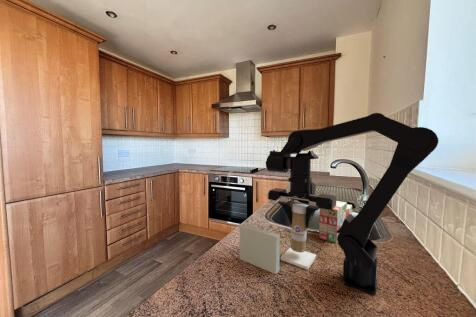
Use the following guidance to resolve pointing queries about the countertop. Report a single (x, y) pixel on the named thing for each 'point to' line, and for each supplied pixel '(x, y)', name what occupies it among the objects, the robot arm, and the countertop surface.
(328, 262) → the countertop surface
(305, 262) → the tile pad
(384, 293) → the countertop surface
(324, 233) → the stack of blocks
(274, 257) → the pale green board
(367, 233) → the robot arm
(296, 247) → the seasoning jar
